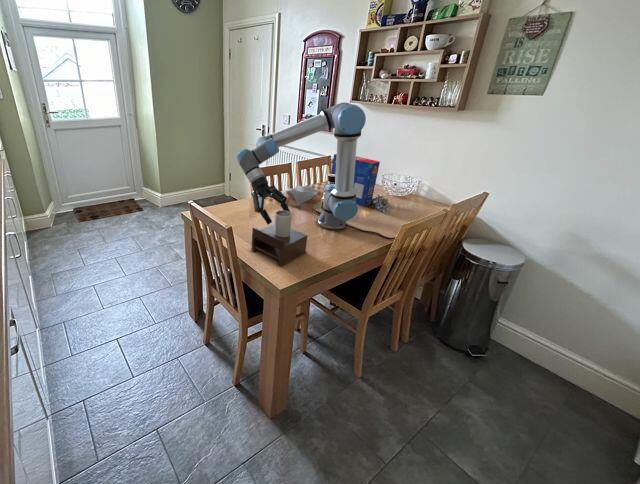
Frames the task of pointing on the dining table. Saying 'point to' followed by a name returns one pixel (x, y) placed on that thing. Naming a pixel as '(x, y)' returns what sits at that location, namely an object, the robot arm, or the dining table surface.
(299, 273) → the dining table surface
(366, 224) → the dining table surface
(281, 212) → the cup
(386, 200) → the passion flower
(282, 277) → the dining table surface
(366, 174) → the pasta box
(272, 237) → the shelf
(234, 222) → the dining table surface
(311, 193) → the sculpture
